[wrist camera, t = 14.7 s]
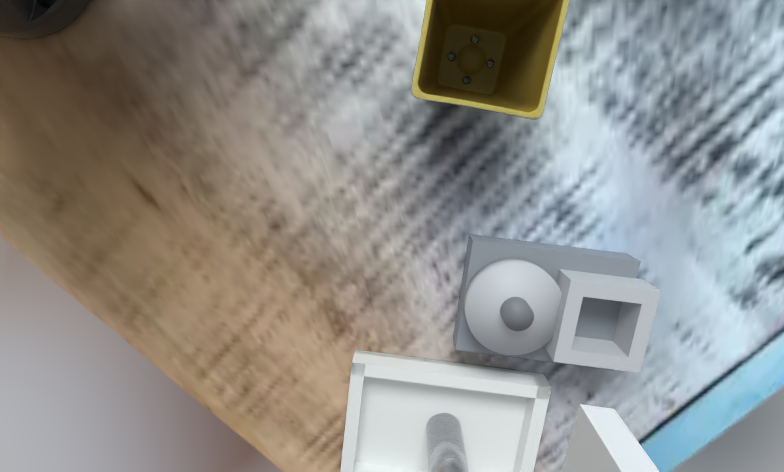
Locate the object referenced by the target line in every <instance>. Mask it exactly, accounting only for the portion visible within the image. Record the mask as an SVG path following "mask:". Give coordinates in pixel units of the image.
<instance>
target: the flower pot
mask: <svg viewBox="0 0 784 472" xmlns="http://www.w3.org/2000/svg"><path fill="white" fill-rule="evenodd" d="M569 1H570V0H427V1H426V7H425V13H424V19H423V25H422V31H421V37H420V42H419V48H418V54H417V59H416V64H415V69H414V75H413V80H412V88H411V92H412V95H413V96H414V97H415V98H417V99H423V100H429V101H436V102H443V103H450V104H456V105H462V106H468V107H473V108H478V109H484V110H489V111H494V112H499V113H504V114H509V115H514V116H519V117H523V118H528V119H539V118H540V117H541V116H542V114H543V111H544V107H545V103H546V98H547V94H548V89H549V85H550V81H551V76H552V72H553V67H554V63H555V59H556V55H557V51H558V47H559V43H560V39H561V34H562V30H563V26H564V22H565V18H566V14H567V9H568V5H569ZM473 36H477V37H478V38H479V40H478V42H477V43H473V42H472V37H473ZM450 53H454V54H455V58H454V60H449V58H448V55H449V54H450ZM489 60H492V61H493V62H494V65H493V66H492V67H488V66H487V61H489ZM465 77H469V78H470V82H469V83H468V84H465V83H464V81H463V79H464V78H465Z"/></svg>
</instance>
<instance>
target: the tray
mask: <svg viewBox="0 0 784 472" xmlns="http://www.w3.org/2000/svg"><path fill="white" fill-rule="evenodd" d="M550 392H551V386H550V385H549V383H548V381H547V379H546V377H545V375H544V374H541V373H533V372H525V371H518V370H510V369H502V368H494V367H487V366H479V365H471V364H463V363H456V362H448V361H440V360H432V359H425V358H417V357H409V356H401V355H394V354H386V353H378V352H370V351H363V350H355V353H354V357H353V361H352V368H351V377H350V386H349V396H348V405H347V414H346V424H345V433H344V442H343V452H342V461H341V470H340V472H429V469H428V453H427V436H426V425H427V422H428V421H429V419H430V418H431V417H433V416H434V415H436V414H439V413H448V414H451V415H453V416H455V417H456V418H457V419H458V420H459V422H460V424H461V429H462V434H463V440H464V446H465V452H466V457H467V463H468V469H469V472H533V471H534V466H535V462H536V457H537V452H538V448H539V443H540V439H541V434H542V429H543V425H544V420H545V416H546V411H547V406H548V402H549V397H550Z"/></svg>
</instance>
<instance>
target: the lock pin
mask: <svg viewBox="0 0 784 472" xmlns="http://www.w3.org/2000/svg"><path fill="white" fill-rule="evenodd" d="M426 436H427V453H428V469H429V472H469V469H468V463H467V457H466V452H465V446H464V440H463V434H462V429H461V424H460V422H459V420H458V419H457V418H456V417H455V416H453V415H451V414H448V413H439V414H436V415H434V416H433V417H431V418H430V419H429V421H428V422H427V425H426Z"/></svg>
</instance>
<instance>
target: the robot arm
mask: <svg viewBox="0 0 784 472" xmlns="http://www.w3.org/2000/svg"><path fill="white" fill-rule="evenodd" d="M88 2H89V0H0V35H2V36H7V37H12V38H22V39H24V38H37V37H42V36H46V35H49V34H52V33H54V32H56V31H58V30H60V29H62V28H64V27H65V26H67V25H68V24H69V23H71V22H72V21H73V20H74V19H75V18H76V17H77V16H78V15H79V14H80V13H81V12H82V10H83V9H84V8H85V6H86V5H87V3H88ZM561 472H659V470H658V469H657V468H656V466H655V465H654V463H653V462H652V461H651V459H650V458H649V457H648V455H647V454H646V452H645V451H644V450H643V448H642V447H641V446H640V444H639V443H638V441H637V440H636V439H635V437H634V436H633V434H632V433H631V432H630V430H629V429H628V428H627V426H626V425H625V423H624V422H623V421H622V419H621V418H620V416H619V415H618V414H617V412H616V411H615V410H614V409H610V408H603V407H596V406H589V405H582V404H580V405H579V409H578V413H577V416H576V420H575V424H574V427H573V431H572V434H571V438H570V442H569V445H568V449H567V453H566V456H565V460H564V463H563V467H562V471H561Z"/></svg>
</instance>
